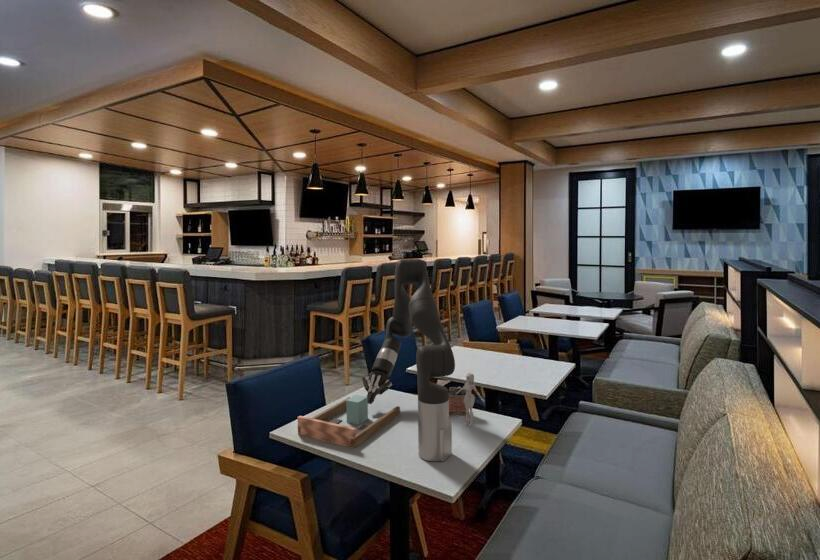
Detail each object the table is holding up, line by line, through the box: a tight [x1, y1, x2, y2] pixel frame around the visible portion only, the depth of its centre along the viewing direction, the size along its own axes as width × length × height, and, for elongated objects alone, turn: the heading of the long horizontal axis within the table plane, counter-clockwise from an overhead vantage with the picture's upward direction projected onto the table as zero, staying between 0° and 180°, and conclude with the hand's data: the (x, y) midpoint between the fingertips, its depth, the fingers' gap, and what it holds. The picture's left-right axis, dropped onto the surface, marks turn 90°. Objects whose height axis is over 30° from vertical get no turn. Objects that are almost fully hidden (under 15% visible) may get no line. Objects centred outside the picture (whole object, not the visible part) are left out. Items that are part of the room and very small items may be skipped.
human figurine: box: [455, 372, 486, 428], centre depth 159 cm, size 12×4×18 cm, turn 47°
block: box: [345, 394, 369, 426], centre depth 164 cm, size 5×6×8 cm
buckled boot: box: [448, 386, 466, 417], centre depth 169 cm, size 8×3×10 cm, turn 84°
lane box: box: [297, 396, 401, 449], centre depth 161 cm, size 22×29×6 cm
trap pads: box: [326, 417, 369, 434], centre depth 159 cm, size 18×8×1 cm, turn 62°
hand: (368, 403), depth 171 cm, fingers closed
